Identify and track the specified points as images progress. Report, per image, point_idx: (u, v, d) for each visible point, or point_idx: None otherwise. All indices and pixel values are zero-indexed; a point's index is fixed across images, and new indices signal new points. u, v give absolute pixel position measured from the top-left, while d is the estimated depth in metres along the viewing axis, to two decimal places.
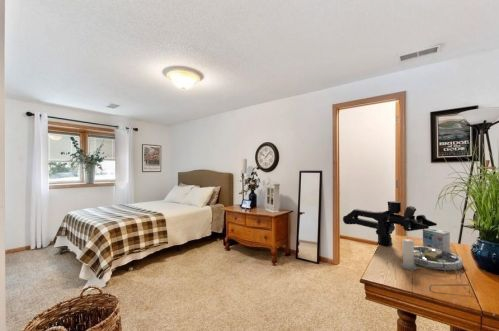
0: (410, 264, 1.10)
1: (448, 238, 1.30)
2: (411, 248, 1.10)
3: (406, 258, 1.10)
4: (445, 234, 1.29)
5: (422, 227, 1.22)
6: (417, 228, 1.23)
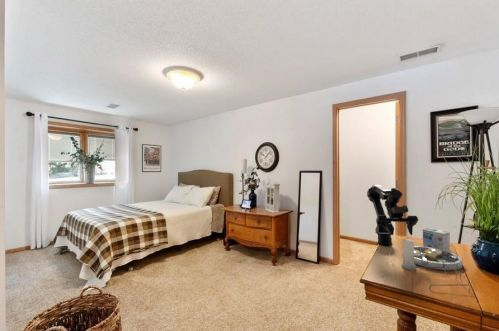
0: (410, 264, 1.10)
1: (448, 238, 1.30)
2: (411, 248, 1.10)
3: (406, 258, 1.10)
4: (445, 234, 1.29)
5: (388, 230, 1.23)
6: (385, 227, 1.25)
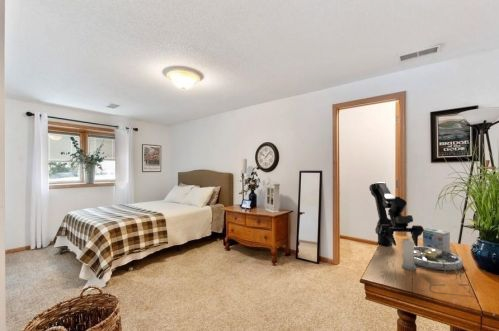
0: (410, 264, 1.10)
1: (448, 238, 1.30)
2: (411, 248, 1.10)
3: (406, 258, 1.10)
4: (445, 234, 1.29)
5: (392, 240, 1.17)
6: (389, 238, 1.20)
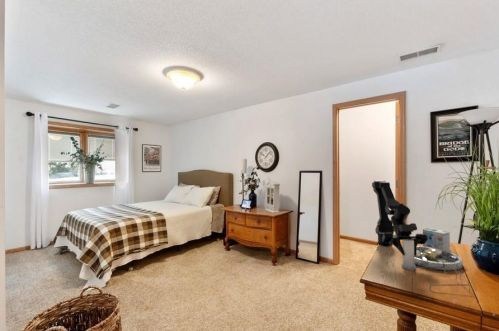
0: (410, 264, 1.10)
1: (448, 238, 1.30)
2: (411, 248, 1.10)
3: (406, 258, 1.10)
4: (445, 234, 1.29)
5: (400, 249, 1.13)
6: (397, 247, 1.15)
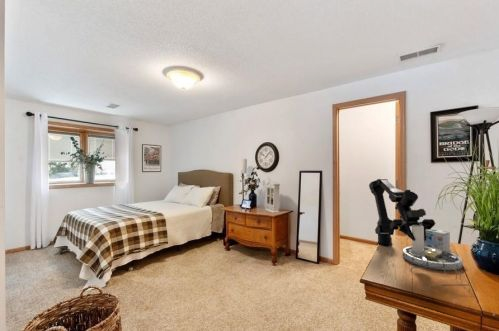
0: (420, 250, 1.09)
1: (448, 238, 1.30)
2: (421, 233, 1.09)
3: (417, 244, 1.10)
4: (445, 234, 1.29)
5: (409, 235, 1.12)
6: (406, 233, 1.14)
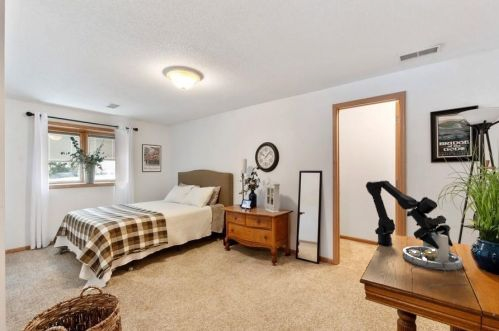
0: (447, 259, 1.11)
1: None
2: (447, 243, 1.11)
3: (444, 254, 1.11)
4: None
5: (432, 244, 1.12)
6: (427, 241, 1.14)
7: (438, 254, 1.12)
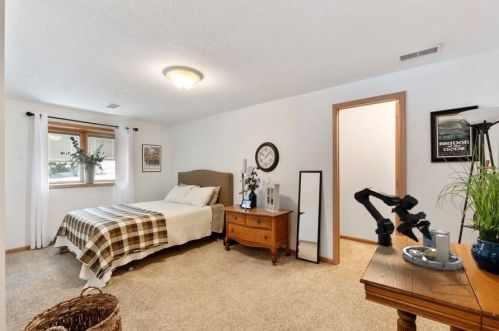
0: (447, 259, 1.11)
1: (448, 238, 1.30)
2: (447, 243, 1.11)
3: (444, 254, 1.11)
4: (445, 234, 1.29)
5: (412, 238, 1.21)
6: (408, 235, 1.23)
7: (438, 254, 1.12)
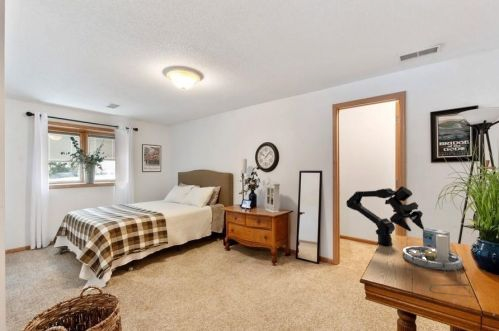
0: (447, 259, 1.11)
1: (448, 238, 1.30)
2: (447, 243, 1.11)
3: (444, 254, 1.11)
4: (445, 234, 1.29)
5: (405, 227, 1.26)
6: (401, 225, 1.28)
7: (438, 254, 1.12)
